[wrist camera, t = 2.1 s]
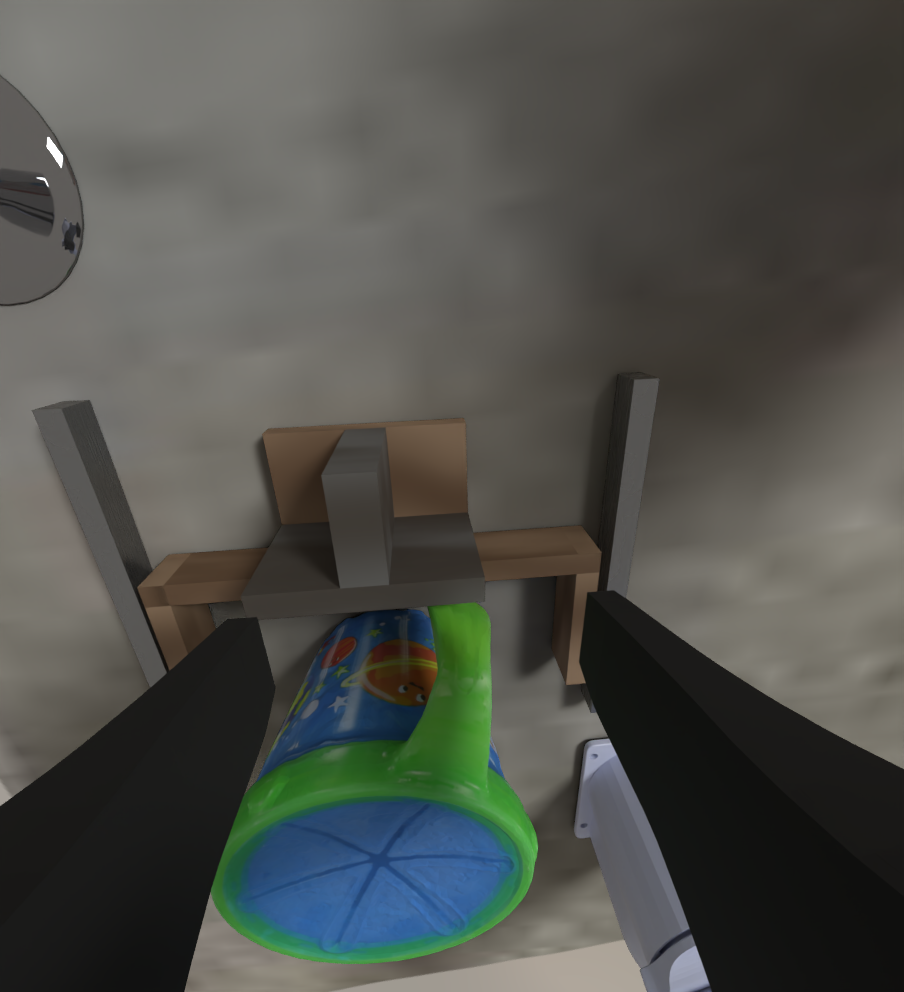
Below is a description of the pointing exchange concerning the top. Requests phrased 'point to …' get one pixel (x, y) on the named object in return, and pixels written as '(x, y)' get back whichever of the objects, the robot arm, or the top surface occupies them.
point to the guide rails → (128, 566)
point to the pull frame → (371, 540)
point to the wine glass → (34, 204)
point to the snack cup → (382, 801)
